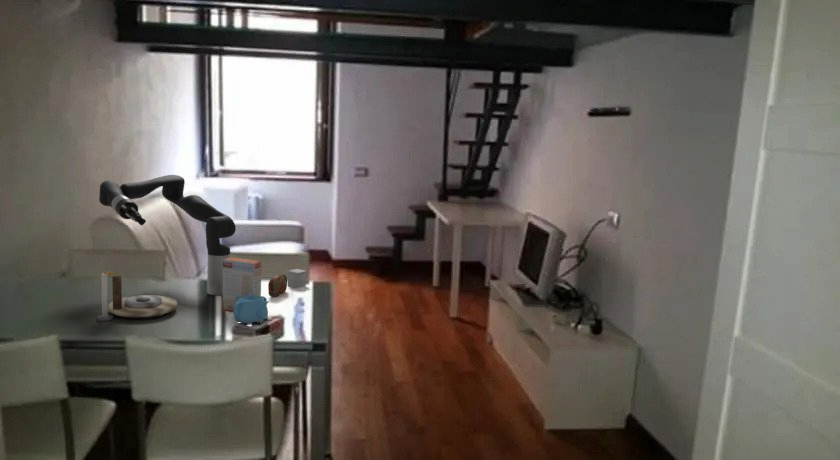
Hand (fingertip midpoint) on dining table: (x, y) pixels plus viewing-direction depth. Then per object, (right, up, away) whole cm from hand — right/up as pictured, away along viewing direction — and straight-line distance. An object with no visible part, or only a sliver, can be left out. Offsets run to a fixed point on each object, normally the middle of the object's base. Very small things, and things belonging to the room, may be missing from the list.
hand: (142, 222), depth 249 cm
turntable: (+2, -33, -5) cm, 33 cm away
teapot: (+45, -38, -9) cm, 60 cm away
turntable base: (+2, -34, -5) cm, 35 cm away
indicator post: (-7, -35, -16) cm, 39 cm away
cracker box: (+38, -35, +4) cm, 52 cm away
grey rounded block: (+51, -29, +47) cm, 75 cm away
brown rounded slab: (+46, -31, +30) cm, 63 cm away
